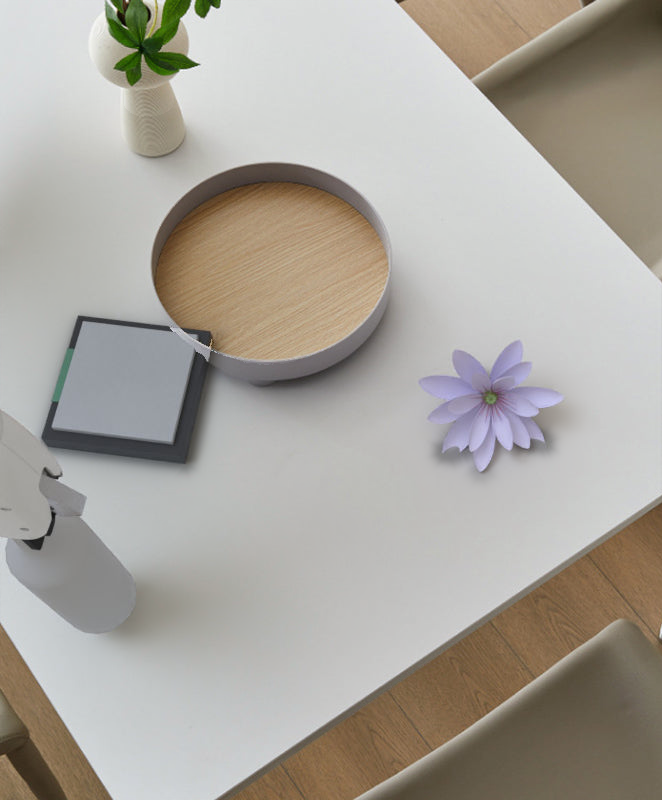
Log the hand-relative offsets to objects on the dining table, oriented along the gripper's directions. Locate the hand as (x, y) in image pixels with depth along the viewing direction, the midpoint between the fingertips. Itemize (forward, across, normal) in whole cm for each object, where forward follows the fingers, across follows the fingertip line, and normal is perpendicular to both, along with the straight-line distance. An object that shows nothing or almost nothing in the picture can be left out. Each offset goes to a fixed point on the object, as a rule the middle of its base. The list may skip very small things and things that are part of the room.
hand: (19, 525), depth 70 cm
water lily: (+27, +33, +23) cm, 49 cm away
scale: (+28, -3, +22) cm, 36 cm away
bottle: (+23, 0, 0) cm, 23 cm away
